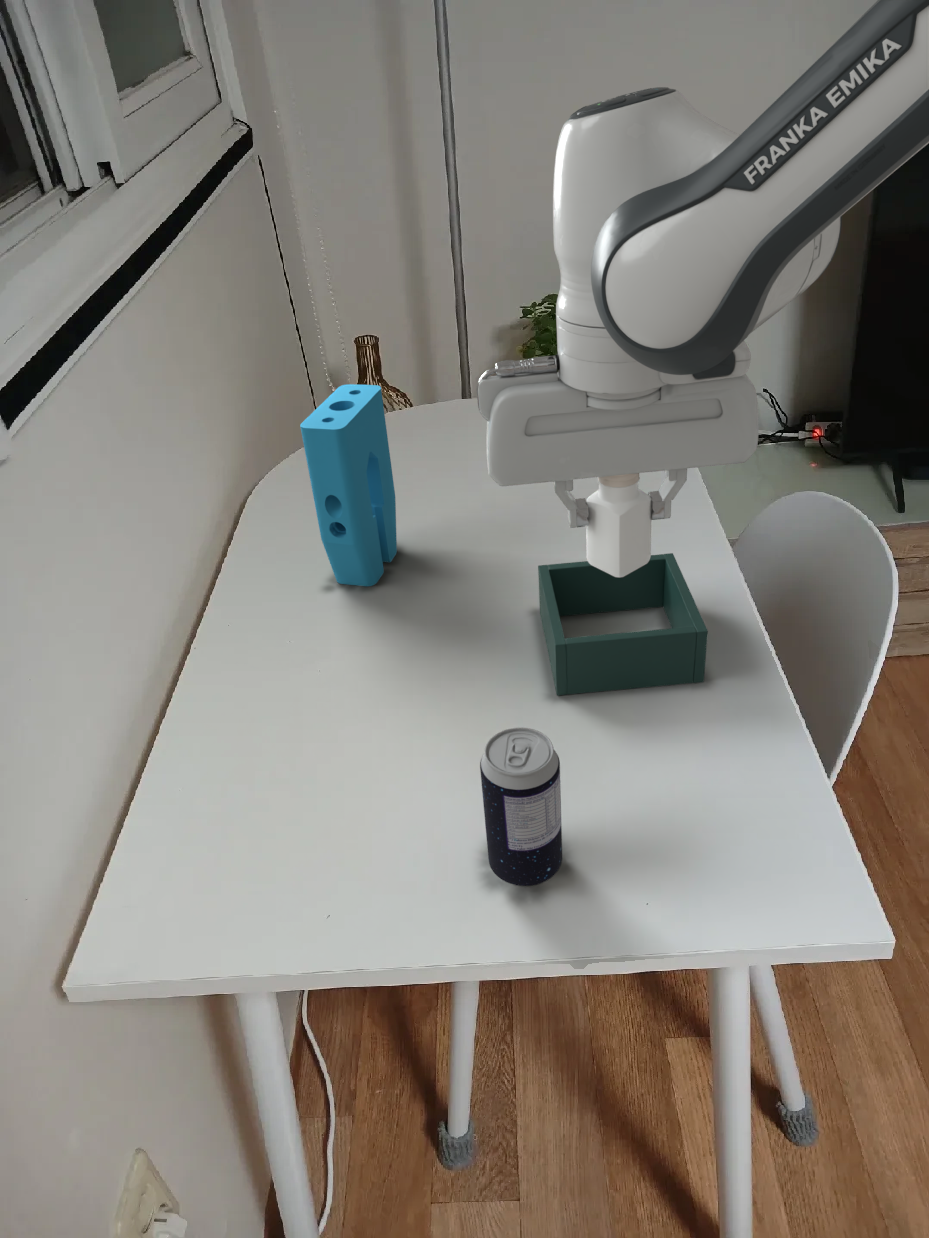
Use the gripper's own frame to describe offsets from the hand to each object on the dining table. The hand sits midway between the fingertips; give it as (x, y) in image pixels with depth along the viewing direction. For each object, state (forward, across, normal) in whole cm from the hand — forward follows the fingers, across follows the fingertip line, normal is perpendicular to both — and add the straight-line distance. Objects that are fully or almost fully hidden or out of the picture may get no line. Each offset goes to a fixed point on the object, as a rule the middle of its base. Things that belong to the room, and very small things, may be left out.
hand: (619, 520), depth 76 cm
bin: (+20, +2, +11) cm, 23 cm away
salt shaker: (+4, 0, 0) cm, 4 cm away
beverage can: (+21, -10, -16) cm, 28 cm away
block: (+20, -25, +30) cm, 44 cm away
